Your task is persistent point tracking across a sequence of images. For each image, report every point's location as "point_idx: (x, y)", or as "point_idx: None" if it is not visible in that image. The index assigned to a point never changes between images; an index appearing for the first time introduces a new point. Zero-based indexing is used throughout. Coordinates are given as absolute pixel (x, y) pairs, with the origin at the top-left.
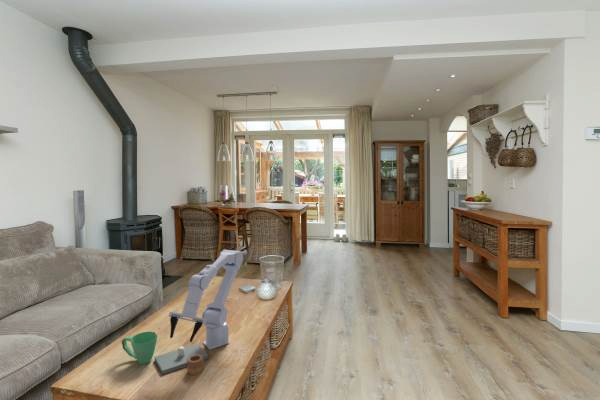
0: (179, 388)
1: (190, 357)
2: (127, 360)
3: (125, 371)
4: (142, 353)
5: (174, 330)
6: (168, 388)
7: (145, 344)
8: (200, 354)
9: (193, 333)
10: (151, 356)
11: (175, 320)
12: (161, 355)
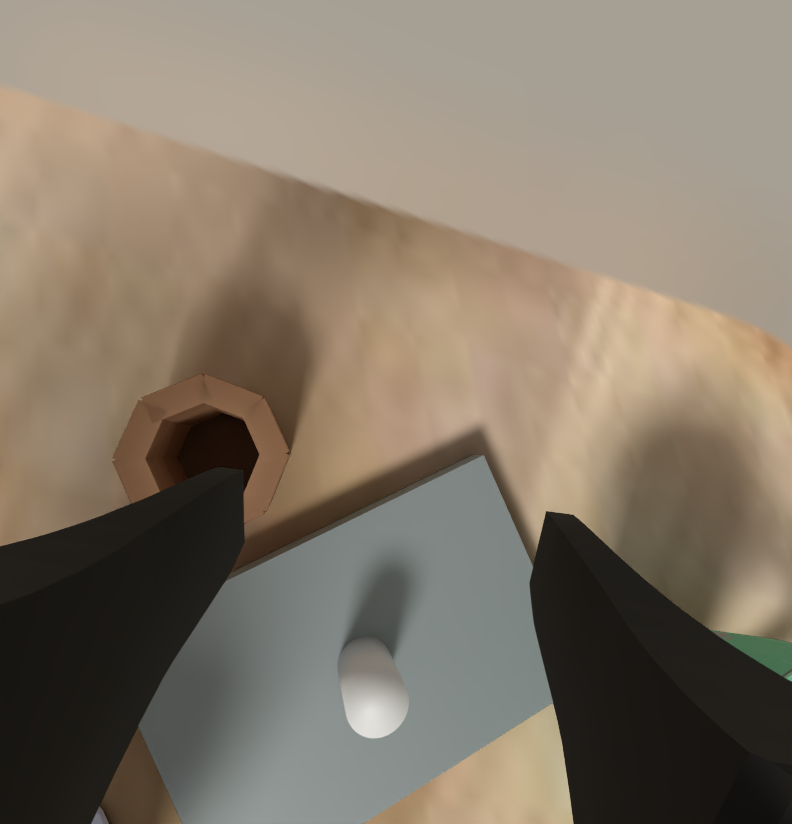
0: (326, 252)
1: (257, 482)
2: None
3: (719, 549)
4: (713, 632)
5: (554, 699)
6: (402, 274)
7: (772, 659)
8: (180, 671)
9: (135, 515)
10: None
11: (748, 734)
12: (536, 700)
